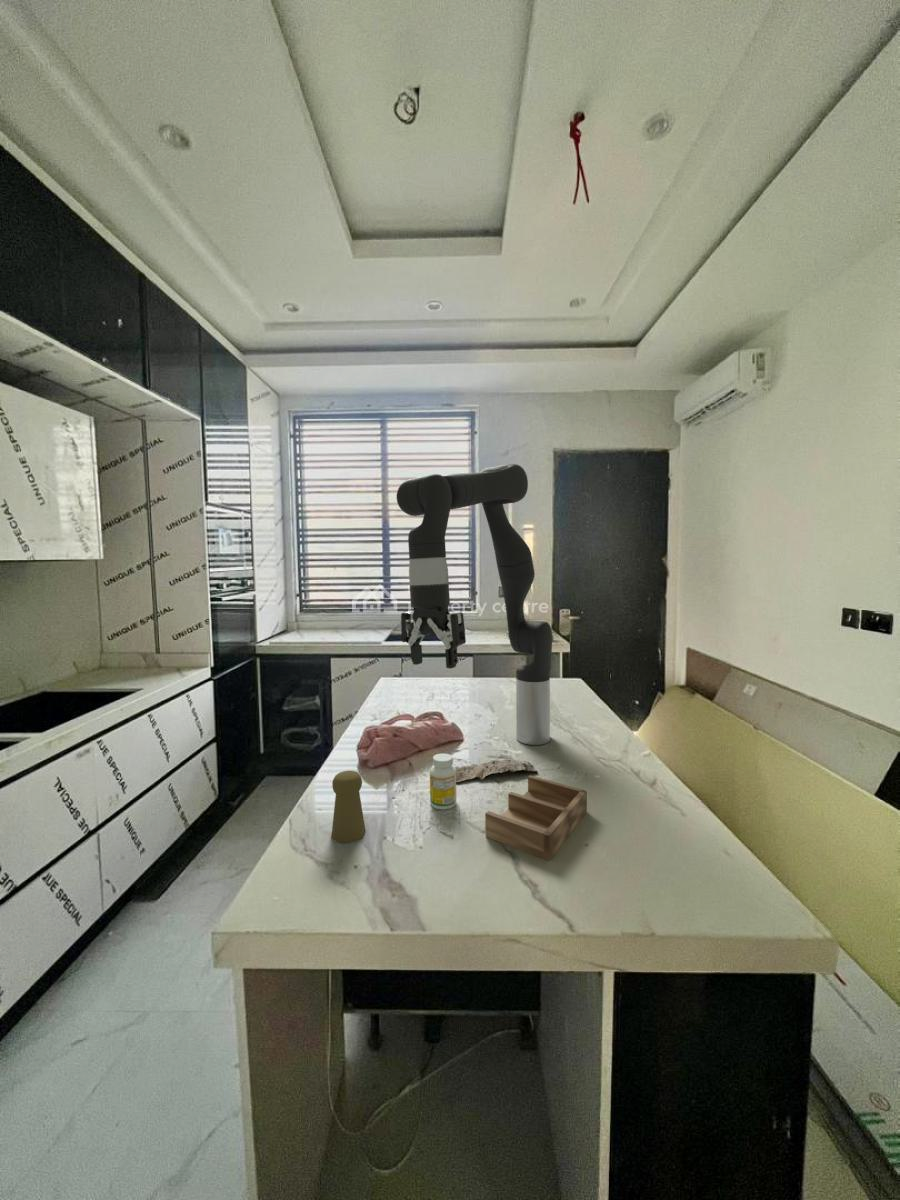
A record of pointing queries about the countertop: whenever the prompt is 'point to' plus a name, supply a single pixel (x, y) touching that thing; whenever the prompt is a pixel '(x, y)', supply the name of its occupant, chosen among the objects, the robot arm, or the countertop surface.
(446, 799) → the supplement bottle
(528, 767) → the stone fragment
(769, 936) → the countertop surface
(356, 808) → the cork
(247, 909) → the countertop surface
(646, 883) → the countertop surface
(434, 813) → the countertop surface
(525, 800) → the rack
